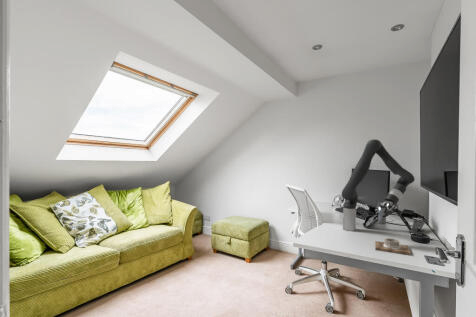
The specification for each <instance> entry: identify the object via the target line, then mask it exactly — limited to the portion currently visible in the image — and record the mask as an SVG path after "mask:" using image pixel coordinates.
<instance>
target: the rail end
mask: <svg viewBox="0 0 476 317" xmlns="http://www.w3.org/2000/svg"><path fill="white" fill-rule="evenodd" d="M377 205H378V204H377ZM385 210H386V206H385V205H378V210H377V211H378V216H377V218H378V224H379V225H387V216H386V217H385V218H383V217H382V214H383V213H384V212H385Z"/></svg>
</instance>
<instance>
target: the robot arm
mask: <svg viewBox="0 0 476 317" xmlns="http://www.w3.org/2000/svg"><path fill="white" fill-rule="evenodd" d="M375 155H377V156H378V157H379V158H380V159H381V160H382V161H383V163H384V165H385V166H386V167H387V169H389V171H390V172H392V174H393V175H395V176H396V175H397V176H399V178H398V179H397V181H396V183H395V185H394V186H393V187H392V189H391V190H389V192H388V193H387V195H386V196H385V198H384V201H382V202H380V201H378V203H377V205H376V210H377V211H376V212H375V216H377V217H378V205H385V206H386V210H385V212H384V213H383V214H382V217H383V218H385V217H386V218H387V216H388V215H389V214H391V215H392V214H393V213H394V212H395V211H396V210H397V209H398V206H397V204H398V203H399V202H400V200H401V199H402V196H403V195H404V194H405V192H406V191H407V188H408V186H409V185H411V184H413V183H414V182H415V180H416V178H415V176H414V175H413V173H412V172H410V171H409V170H407V169H406V168H404V167H402V166H401V164H400V163H399V162H398V161H397V160H396V159H395V158H394V157H393V156H392V155H391V154H390V152H388V151H387V149H386V148H385V146H384V145H383V143H382V142H381V140H379V139H375V138H374V139H369V140H368V141H367V142H366V144H365V148H364V150H363V152H362V154H361V156H360V158H359V160H358V161H357V163H356V164H355V167H354V169H353V170H352V173H351V175H350V177H349V179H348V181H347V183H346V184H345V186H344V187H343V189H342V190H341V197H342V198H343V199H344V203H343V205H342V207H343V209H342V210H343V211H342V214H343V215H342V230H345V231H347V232H348V231H349V232H354V231H356V230H357V205H358V192H357V190H356V189H357V187H358V185H359V184H361V183H362V181H363V180H364V179H365V178H366V176H367V174H368V172H369V170H370V167H371V163H372V160H373V158H374V157H375Z"/></svg>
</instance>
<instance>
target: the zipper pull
mask: <svg viewBox="0 0 476 317" xmlns="http://www.w3.org/2000/svg"><path fill="white" fill-rule="evenodd" d="M425 223H426V221H424V220H418V219H413V222H412V227H411V228H410V229H411V230H410V229H408V234H409V233H410V234H409V235H412V234H411V233H417V234H423V235H424V230H423V226H424V225H425Z"/></svg>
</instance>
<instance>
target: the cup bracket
mask: <svg viewBox="0 0 476 317" xmlns="http://www.w3.org/2000/svg"><path fill="white" fill-rule="evenodd" d="M374 244H375V246H374V248H375V249H374V250H375V251H381V252H387V253H393V254H400V255H404V256H412V253H411V249H410V248H409V245H406V244H405V245H404V244H400V240H399V239H395V238H390V237H388V238H387V237H386V238H384V242H383V241H376V240H375V242H374Z"/></svg>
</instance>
